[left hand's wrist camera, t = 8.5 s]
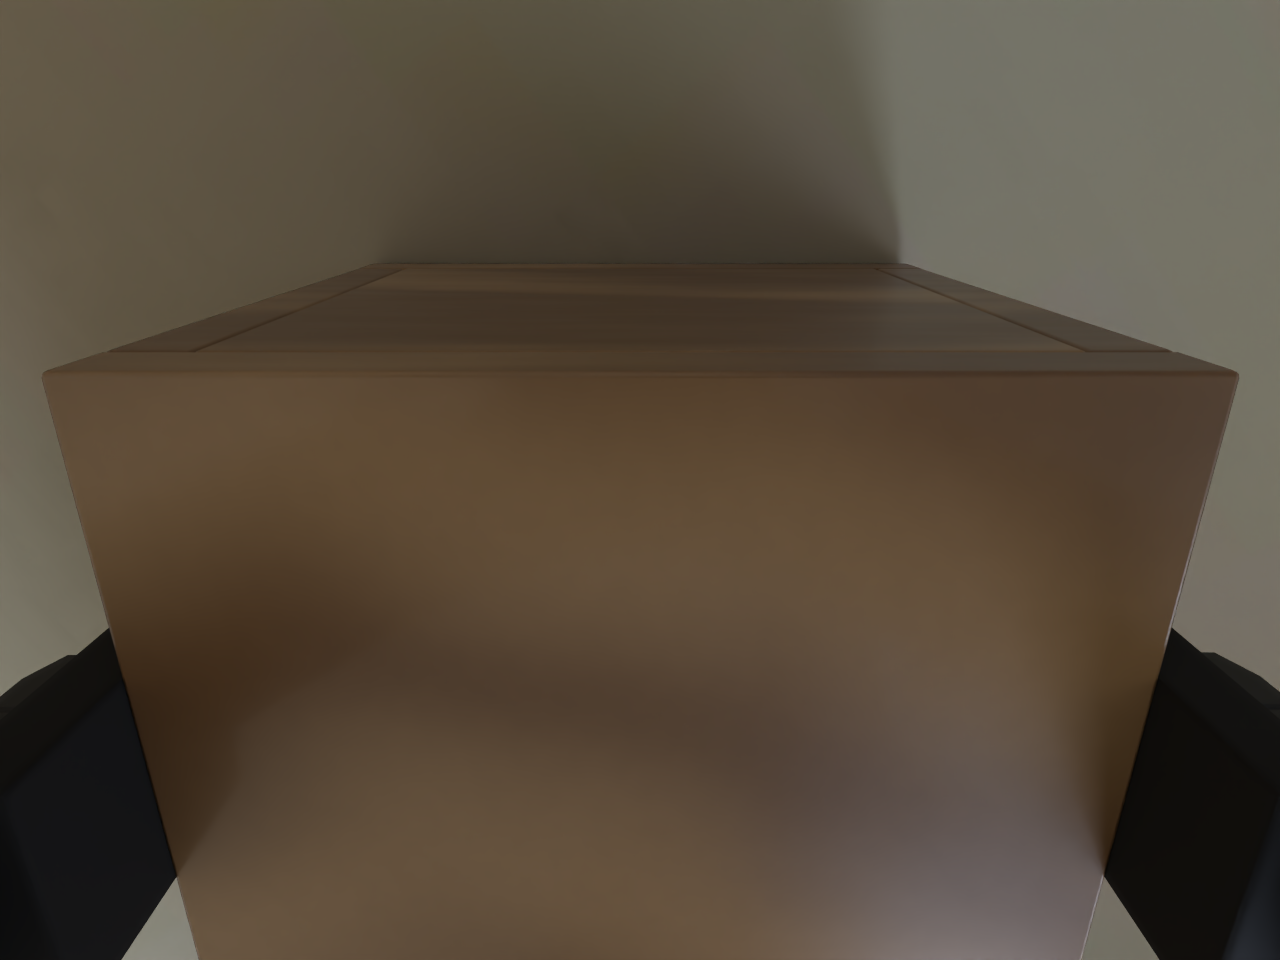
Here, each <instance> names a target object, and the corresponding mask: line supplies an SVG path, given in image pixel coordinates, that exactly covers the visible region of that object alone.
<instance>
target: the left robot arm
mask: <svg viewBox="0 0 1280 960" xmlns="http://www.w3.org/2000/svg"><path fill="white" fill-rule="evenodd" d="M1104 877H1105V878H1106V880H1107V881H1108V883H1109V884H1110V886H1111V887H1112V889H1113V890H1114V892H1115V893H1116V895H1117V896H1118V898H1119V899H1120V901H1121V902H1122V904H1123V905H1124V907H1125V908H1126V910H1127V911H1128V913H1129V914H1130V916H1131V917H1132V919H1133V920H1134V922H1135V923H1136V925H1137V926H1138V928H1139V929H1140V931H1141V932H1142V934H1143V935H1144V937H1145V938H1146V940H1147V941H1148V943H1149V944H1150V946H1151V948H1152V949H1153V951H1154V952H1155V954H1156V955H1157V957H1158V958H1159V960H1280V692H1279V691H1278V690H1277V689H1275V688H1274V687H1273V686H1272V685H1270V684H1269V683H1268V682H1267V681H1265V680H1264V679H1263V678H1262V677H1260V676H1259V675H1257V674H1255V673H1253V672H1251V671H1249V670H1247V669H1245V668H1243V667H1241V666H1239V665H1237V664H1235V663H1233V662H1232V661H1230V660H1228V659H1226V658H1224V657H1222V656H1220V655H1218V654H1216V653H1201V652H1200V651H1199V650H1198V649H1196V648H1195V647H1194V646H1193V645H1192V644H1190V643H1189V642H1188V641H1187V640H1186V639H1185V638H1183V637H1182V636H1181V635H1180V634H1179V633H1177V632H1176V631H1175V630H1174V629H1173V628H1171V631H1170V635H1169V639H1168V643H1167V646H1166V650H1165V654H1164V657H1163V661H1162V665H1161V668H1160V672H1159V676H1158V679H1157V683H1156V687H1155V691H1154V694H1153V698H1152V702H1151V705H1150V709H1149V713H1148V716H1147V720H1146V724H1145V727H1144V731H1143V735H1142V739H1141V742H1140V746H1139V750H1138V753H1137V757H1136V761H1135V764H1134V768H1133V772H1132V775H1131V779H1130V783H1129V786H1128V790H1127V794H1126V798H1125V801H1124V805H1123V809H1122V812H1121V816H1120V820H1119V823H1118V827H1117V831H1116V834H1115V838H1114V842H1113V846H1112V849H1111V853H1110V857H1109V860H1108V864H1107V868H1106V871H1105V875H1104ZM175 878H176V873H175V869H174V866H173V862H172V858H171V855H170V851H169V847H168V843H167V840H166V836H165V832H164V829H163V825H162V821H161V818H160V814H159V810H158V806H157V803H156V799H155V795H154V792H153V788H152V784H151V781H150V777H149V773H148V769H147V766H146V762H145V758H144V755H143V751H142V747H141V744H140V740H139V736H138V732H137V729H136V725H135V721H134V718H133V714H132V710H131V707H130V703H129V699H128V695H127V692H126V688H125V684H124V681H123V677H122V673H121V670H120V666H119V662H118V658H117V655H116V651H115V647H114V644H113V640H112V636H111V633H110V629H109V628H108V629H107V630H106V631H105V632H103V633H102V634H101V635H100V636H99V637H98V638H96V639H95V640H94V641H93V642H92V643H90V644H89V645H88V646H87V647H86V648H85V649H83V650H82V651H81V652H80V653H79V654H77V655H67V656H65V657H63V658H61V659H59V660H57V661H56V662H54V663H52V664H50V665H48V666H46V667H44V668H42V669H40V670H38V671H36V672H34V673H33V674H31V675H29V676H27V677H25V678H23V679H21V680H20V681H19V682H18V683H16V684H15V685H14V686H13V687H12V688H10V689H9V690H8V691H7V692H5V693H4V694H3V695H2V696H0V960H121V959H122V958H123V956H124V955H125V953H126V952H127V950H128V949H129V947H130V946H131V944H132V943H133V941H134V940H135V938H136V937H137V935H138V934H139V932H140V931H141V929H142V928H143V926H144V925H145V923H146V922H147V920H148V919H149V917H150V916H151V914H152V913H153V911H154V910H155V908H156V907H157V905H158V904H159V902H160V901H161V899H162V898H163V896H164V895H165V893H166V892H167V890H168V889H169V887H170V886H171V884H172V883H173V881H174V880H175Z"/></svg>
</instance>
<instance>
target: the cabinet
mask: <svg viewBox="0 0 1280 960" xmlns="http://www.w3.org/2000/svg"><path fill="white" fill-rule="evenodd" d="M1238 380H1239V374H1238V373H1237V372H1236V371H1233V370H1231V369H1228V368H1224V367H1221V366H1218V365H1215V364H1212V363H1209V362H1206V361H1203V360H1200V359H1197V358H1194V357H1191V356H1188V355H1185V354H1181V353H1178V352H1172V351H1170V350H1168V349H1165V348H1162V347H1159V346H1156V345H1152V344H1149V343H1146V342H1143V341H1140V340H1137V339H1134V338H1131V337H1128V336H1125V335H1122V334H1119V333H1116V332H1113V331H1110V330H1106V329H1103V328H1100V327H1097V326H1094V325H1091V324H1088V323H1085V322H1082V321H1079V320H1076V319H1073V318H1070V317H1067V316H1064V315H1061V314H1057V313H1054V312H1051V311H1048V310H1045V309H1042V308H1039V307H1036V306H1033V305H1030V304H1027V303H1024V302H1021V301H1018V300H1015V299H1011V298H1008V297H1005V296H1002V295H999V294H996V293H993V292H990V291H987V290H984V289H981V288H978V287H975V286H972V285H969V284H965V283H962V282H959V281H956V280H953V279H950V278H947V277H944V276H941V275H938V274H935V273H932V272H929V271H926V270H923V269H920V268H918V267H915V266H912V265H908V264H371V265H368V266H365V267H362V268H360V269H357V270H354V271H351V272H348V273H345V274H342V275H339V276H336V277H332V278H329V279H326V280H323V281H320V282H317V283H314V284H311V285H308V286H305V287H302V288H299V289H296V290H293V291H290V292H287V293H284V294H280V295H277V296H274V297H271V298H268V299H265V300H262V301H259V302H256V303H253V304H250V305H247V306H244V307H241V308H238V309H235V310H231V311H228V312H225V313H222V314H219V315H216V316H213V317H210V318H207V319H204V320H201V321H198V322H195V323H192V324H189V325H186V326H183V327H179V328H176V329H173V330H170V331H167V332H164V333H161V334H158V335H155V336H152V337H149V338H146V339H143V340H140V341H137V342H134V343H130V344H127V345H124V346H121V347H118V348H115V349H112V350H110V351H108V352H102V353H99V354H96V355H93V356H90V357H87V358H84V359H81V360H78V361H75V362H72V363H69V364H66V365H63V366H59V367H56V368H53V369H50V370H48V371H45V372H44V373H43V374H42V381H43V385H44V388H45V392H46V396H47V400H48V403H49V407H50V411H51V414H52V418H53V422H54V425H55V429H56V433H57V437H58V440H59V444H60V448H61V451H62V455H63V459H64V462H65V466H66V470H67V474H68V477H69V481H70V485H71V488H72V492H73V496H74V499H75V503H76V507H77V511H78V514H79V518H80V522H81V525H82V529H83V533H84V536H85V540H86V544H87V548H88V551H89V555H90V559H91V562H92V566H93V570H94V573H95V577H96V581H97V585H98V588H99V592H100V596H101V599H102V603H103V607H104V610H105V614H106V618H107V621H108V625H109V629H110V633H111V636H112V640H113V644H114V647H115V651H116V655H117V658H118V662H119V666H120V670H121V673H122V677H123V681H124V684H125V688H126V692H127V695H128V699H129V703H130V707H131V710H132V714H133V718H134V721H135V725H136V729H137V732H138V736H139V740H140V744H141V747H142V751H143V755H144V758H145V762H146V766H147V769H148V773H149V777H150V781H151V784H152V788H153V792H154V795H155V799H156V803H157V806H158V810H159V814H160V818H161V821H162V825H163V829H164V832H165V836H166V840H167V843H168V847H169V851H170V855H171V858H172V862H173V866H174V869H175V873H176V877H177V880H178V884H179V888H180V892H181V895H182V899H183V903H184V906H185V910H186V914H187V917H188V921H189V925H190V928H191V932H192V936H193V940H194V943H195V947H196V951H197V954H198V958H199V960H1082V956H1083V953H1084V949H1085V945H1086V942H1087V938H1088V934H1089V930H1090V927H1091V923H1092V919H1093V916H1094V912H1095V908H1096V905H1097V901H1098V897H1099V894H1100V890H1101V886H1102V882H1103V879H1104V875H1105V871H1106V868H1107V864H1108V860H1109V857H1110V853H1111V849H1112V846H1113V842H1114V838H1115V834H1116V831H1117V827H1118V823H1119V820H1120V816H1121V812H1122V809H1123V805H1124V801H1125V798H1126V794H1127V790H1128V786H1129V783H1130V779H1131V775H1132V772H1133V768H1134V764H1135V761H1136V757H1137V753H1138V750H1139V746H1140V742H1141V739H1142V735H1143V731H1144V727H1145V724H1146V720H1147V716H1148V713H1149V709H1150V705H1151V702H1152V698H1153V694H1154V691H1155V687H1156V683H1157V679H1158V676H1159V672H1160V668H1161V665H1162V661H1163V657H1164V654H1165V650H1166V646H1167V643H1168V639H1169V635H1170V631H1171V628H1172V624H1173V620H1174V617H1175V613H1176V609H1177V606H1178V602H1179V598H1180V595H1181V591H1182V587H1183V583H1184V580H1185V576H1186V572H1187V569H1188V565H1189V561H1190V558H1191V554H1192V550H1193V547H1194V543H1195V539H1196V536H1197V532H1198V528H1199V524H1200V521H1201V517H1202V513H1203V510H1204V506H1205V502H1206V499H1207V495H1208V491H1209V488H1210V484H1211V480H1212V476H1213V473H1214V469H1215V465H1216V462H1217V458H1218V454H1219V451H1220V447H1221V443H1222V440H1223V436H1224V432H1225V428H1226V425H1227V421H1228V417H1229V414H1230V410H1231V406H1232V403H1233V399H1234V395H1235V392H1236V388H1237V384H1238Z"/></svg>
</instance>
